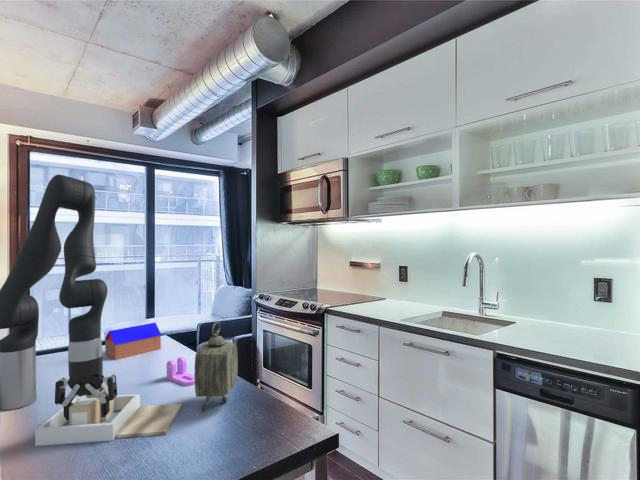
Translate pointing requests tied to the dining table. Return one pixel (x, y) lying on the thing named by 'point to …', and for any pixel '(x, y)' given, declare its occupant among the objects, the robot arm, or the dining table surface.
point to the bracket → (179, 372)
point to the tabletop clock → (215, 368)
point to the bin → (86, 425)
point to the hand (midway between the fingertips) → (87, 417)
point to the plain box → (100, 405)
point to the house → (132, 341)
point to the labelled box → (85, 412)
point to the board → (150, 421)
